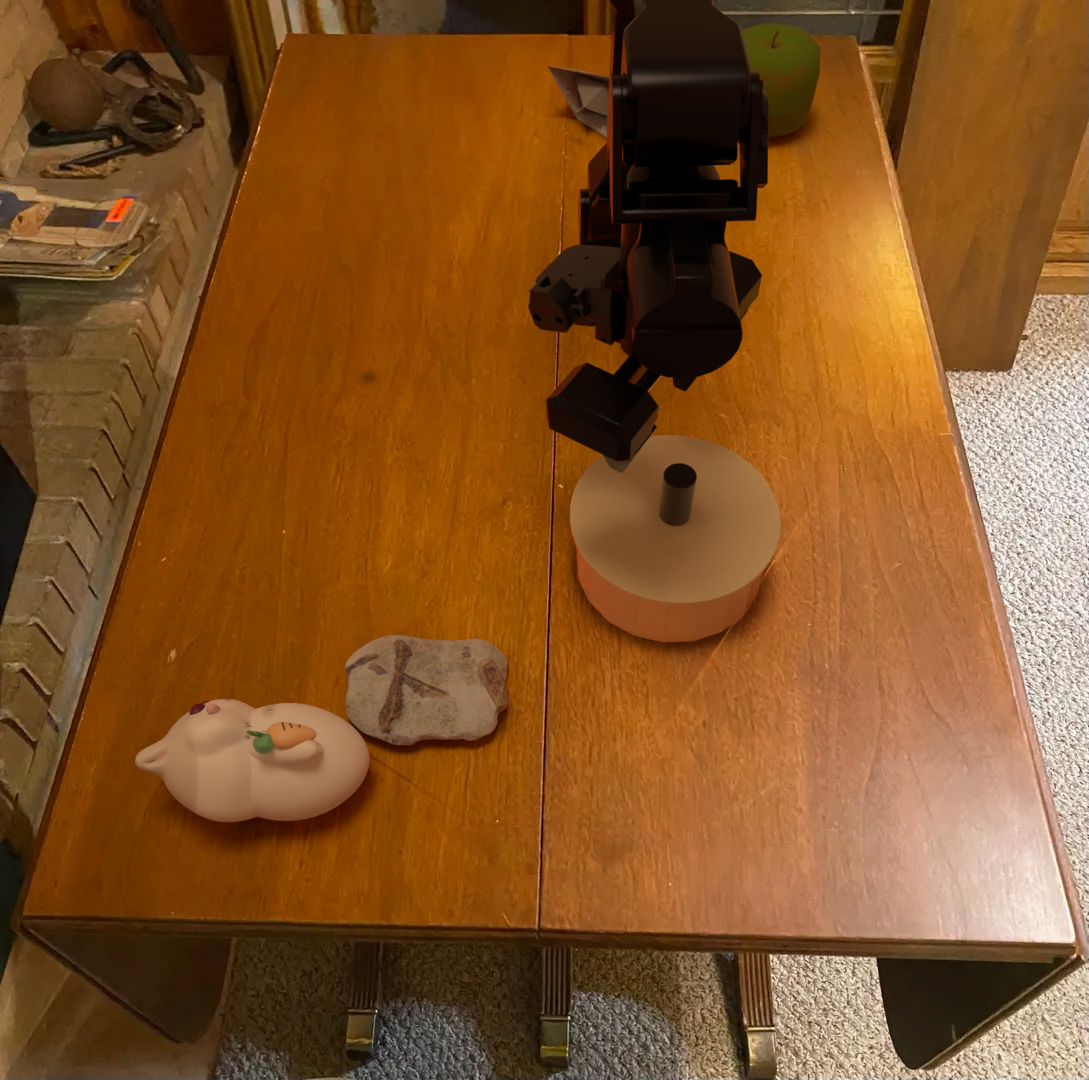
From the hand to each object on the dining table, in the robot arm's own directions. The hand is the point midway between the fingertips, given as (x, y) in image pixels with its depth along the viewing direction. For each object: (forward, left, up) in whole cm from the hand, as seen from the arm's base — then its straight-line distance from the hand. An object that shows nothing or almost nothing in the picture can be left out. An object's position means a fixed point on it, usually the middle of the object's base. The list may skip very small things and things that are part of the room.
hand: (649, 427), depth 74 cm
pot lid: (+2, +4, -6) cm, 7 cm away
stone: (+22, -5, -13) cm, 26 cm away
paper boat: (-47, -35, -13) cm, 60 cm away
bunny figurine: (+33, -11, -13) cm, 37 cm away
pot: (+2, +4, -13) cm, 13 cm away
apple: (-58, -18, -13) cm, 62 cm away
